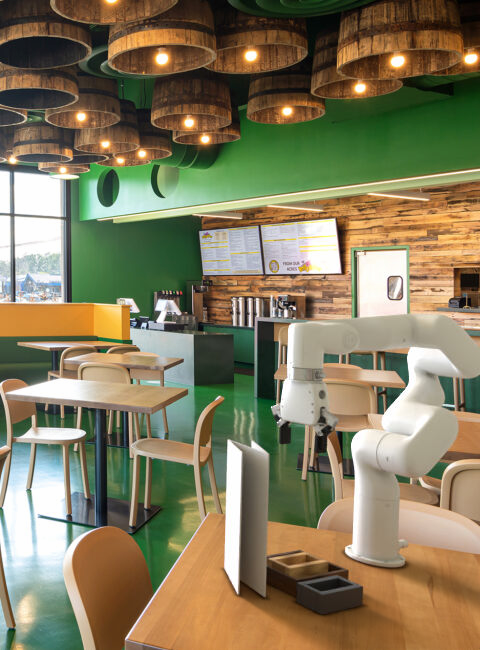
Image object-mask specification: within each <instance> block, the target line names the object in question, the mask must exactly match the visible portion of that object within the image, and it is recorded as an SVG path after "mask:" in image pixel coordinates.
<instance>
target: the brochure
mask: <svg viewBox="0 0 480 650" xmlns="http://www.w3.org/2000/svg"><path fill="white" fill-rule="evenodd" d="M226 449H227V453H226V454H227V456H226V487H225V489H226V492H225V523H224V524H225V525H224V526H225V527H224V528H225V531H224V562H223V563H224V566H223V568H224V570H225V572H226V574H227V576H228V579H229V581H230V582H231V584H232V586H233V588H234V589H235V592H236V594H237V595H240V583H241V582H242V583H244V584H245V585H247V586H248V587H249V588H251V589H252V590H254V591H255V592H256V593H258V594H259V595H260V596H262V597H263V598H266V597H267V595H266V594H267V583H266V565H267V555H268V525H269V524H268V523H269V490H270V489H269V488H270V487H269V486H270V453H268V452H267V451H266V450H265V449H264V448H263V447H261V446H260V445H259V444H258V443H257V442H255V441H254V440H251V446H248V445H246V444H243V443H240V442H238V441H235V440H232V439H230V438H228V439H227V448H226ZM240 581H241V582H240Z"/></svg>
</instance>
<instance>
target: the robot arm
mask: <svg viewBox="0 0 480 650" xmlns="http://www.w3.org/2000/svg"><path fill="white" fill-rule="evenodd" d="M287 337H288V338H287V361H286V363H287V364H286V378H285V379H284V381H283V387H282V391H281V398H280V403H277V404H276V405H272V406H271V407H270V408H271V412H272V415H273V419H274V420H275V422H276V426H277V428H279V430H278V433H279V434H278V444H279V445H290V444H291V443H292V427H291V426H290V425H291V424H292V423H294V424H299V425H304V426H310V427H313V429H314V431H315V433H316V434H315V435H314V449H313V450H314V453H315V454H324V453H327V451H328V436H331V433H333V432H334V431H335V429H336V427H337V425H338V424H339V421H340V420H339V418H338V417H337V416H335V415H334V414H333V413H332V412H331V411H330V398H329V392H328V391H329V390H328V386H327V384H326V382H324V380H325V379H327V373H326V372H324V357H325V356H324V355H325V354H328V355H337V356H344V355H348V354H351V353H353V352H355V351H360V352H361V351H362V352H384V351H390V350H402V349H409V350H408V353H407V358H406V359H407V368H408V376H409V377H408V379H409V380H408V384H407V386H406V387H405V390H403V391H402V393H400V394H399V396H398V397H397V398H396V399H395V401H394V402H393V403H392V404H391V405H390V406H389V407H388V408H387V410H386V411H385V412H384V414H383V416H382V417H381V418H382V419H381V427H382V428H383V429H377V428H366V429H362V430H360V431H358V432H357V433H355V434H354V436H353V438H352V441H351V446H350V447H351V457H352V461H353V467H354V468H353V469H354V497H353V520H352V521H353V525H352V526H353V527H352V544H348V545H347V546H345V548H344V549H345V550H344V553H345V554H346V555H347V557H349V558H351V559H352V560H355V561H357V562H361V563H363V564H367V565H371V566H375V567H381V568H401V567H403V566H405V565H406V558H405V557H404V556H403V555H402V554H400V550H401V549H406V548H408V547H409V543H408V541H407V540H405V539H399V526H400V504H401V503H400V502H401V501H400V500H401V489H400V488H401V487H400V484H399V480H398V479H397V477H396V475H397V476H401V477H405V478H409V479H418V478H419V479H420V478H422V477H425V476H426V475H427V474H428V473H430V471H431V470H433V468H434V467H435V466H436V465H437V464H438V462H439V461H440V460H441V459H442V458H443V457H444V455H445V454H446V453H448V451H449V450H450V448H451V447H452V446H453V444H454V443H455V441H456V440H457V437H458V434H459V429H460V428H459V427H460V426H459V420H458V418H457V416H456V415H455V414H454V412H453V411H451V410H450V409H448V408H446V407H444V406H443V405H444V404H445V401H446V395H445V391H444V389H443V386H442V384H441V382H440V378H439V377H448V378H455V379H473V378H474V379H475V378H477V377H479V376H480V345H478V343H477V342H476V341H475V340H474V339H473V338H472V337H471V336H470V334H468V332H467V331H466V330H465V329H464V327H462V326H461V324H459V323H458V322H456V320H454V319H453V318H451V317H450V316H447V315H445V314H438V313H437V314H435V313H429V314H428V313H401V314H388V315H378V316H361V317H352V318H339V319H335V318H334V319H320V320H311V321H306V322H293V323H290V325H289V326H288V335H287Z"/></svg>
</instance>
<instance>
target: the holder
mask: <svg viewBox="0 0 480 650" xmlns="http://www.w3.org/2000/svg"><path fill="white" fill-rule="evenodd" d="M302 552H305V551H304V550H301V549H297V550H292V551H285V552H280V553H273V554H267V559H268V558H273V557H279V556H284V555H290V554H296V553H302ZM349 571H350V570H349V569H348V568H345V567H343V566H340V565H338V564H335V563H332V562H331V561H328V572H326V573H321V574H316V575H311V576H306V577H301V578H294V577H292V576H290V575H288V574H286V573H283V572H281V571H279V570H277V569H275V568H273V567H270V566H268V565H266V584H268V585H270V586H273V587H275V588H277V589H278V590H281V591H283V592H285V593H287V594H289V595H291V596H293V597H295V598H297V583H300V582H305V581H310V580H315V579H320V578H325V577H330V576H335V575H338V576H340V577H343V578H345V579H347V580H349V576H350V575H349V574H350V572H349Z"/></svg>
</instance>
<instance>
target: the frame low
mask: <svg viewBox="0 0 480 650" xmlns="http://www.w3.org/2000/svg"><path fill="white" fill-rule="evenodd" d="M295 598H296V599H295V600H296V601H295V602H296V603H298V604H299V605H302V606H304V607H306V608H307V609H310V610H312V611H314V612H316V613H317V614H319V615H326V614H331V613H336V612H340V611H344V610H345V611H346V610H348V609H353V608H357V607H361V606H363V605H364V604H363V603H364V586H363V585H361V584H359V583H356V582H354V581H351V580H349V579H348V580H347V579H345V578H343V577H340V576H338V575H335V576H330V577H325V578H320V579H315V580H310V581H305V582H300V583H297V597H295Z"/></svg>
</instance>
